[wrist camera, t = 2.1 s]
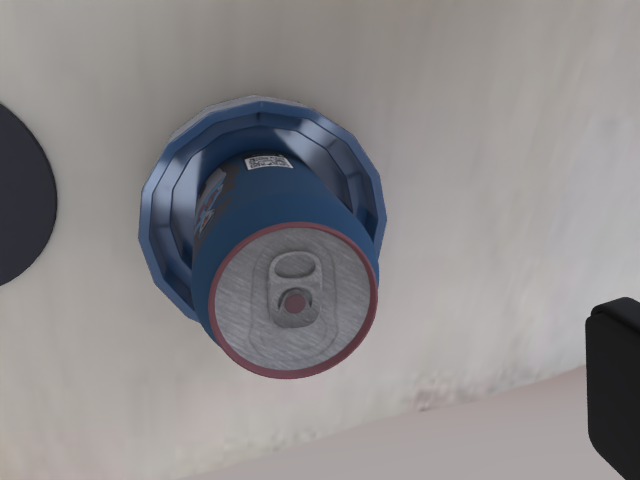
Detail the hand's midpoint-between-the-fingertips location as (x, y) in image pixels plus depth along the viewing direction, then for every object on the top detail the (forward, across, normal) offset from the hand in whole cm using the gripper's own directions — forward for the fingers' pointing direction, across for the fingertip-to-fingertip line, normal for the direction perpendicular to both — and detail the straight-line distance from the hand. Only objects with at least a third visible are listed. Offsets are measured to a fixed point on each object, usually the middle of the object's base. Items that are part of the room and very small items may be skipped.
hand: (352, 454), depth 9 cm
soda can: (+21, 0, +1) cm, 21 cm away
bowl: (+21, 0, +1) cm, 21 cm away
